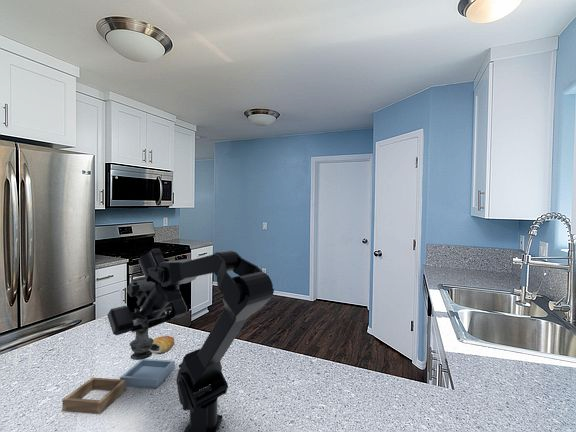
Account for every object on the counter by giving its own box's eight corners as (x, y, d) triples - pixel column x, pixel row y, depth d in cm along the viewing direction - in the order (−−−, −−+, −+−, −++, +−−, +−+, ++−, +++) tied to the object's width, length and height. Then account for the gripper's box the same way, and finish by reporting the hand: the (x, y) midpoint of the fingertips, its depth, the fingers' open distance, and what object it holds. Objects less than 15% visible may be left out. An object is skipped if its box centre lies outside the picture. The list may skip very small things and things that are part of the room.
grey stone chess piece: (136, 362, 78) (137, 315, 78) (124, 356, 81) (125, 311, 81) (157, 354, 82) (158, 310, 82) (145, 348, 86) (146, 306, 86)
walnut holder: (100, 413, 68) (100, 402, 68) (62, 410, 69) (62, 399, 69) (126, 389, 77) (126, 379, 77) (92, 387, 78) (92, 377, 78)
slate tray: (156, 388, 78) (156, 380, 78) (119, 385, 79) (119, 377, 79) (174, 368, 88) (174, 360, 88) (141, 366, 89) (141, 358, 89)
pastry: (162, 340, 106) (162, 330, 106) (179, 343, 105) (179, 332, 105) (144, 353, 97) (144, 341, 97) (163, 355, 96) (163, 343, 96)
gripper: (181, 266, 86) (161, 297, 93) (110, 276, 72) (93, 312, 79) (197, 298, 81) (175, 329, 88) (124, 316, 67) (105, 351, 74)
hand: (139, 329), depth 82 cm, fingers closed on grey stone chess piece, 3 cm apart
